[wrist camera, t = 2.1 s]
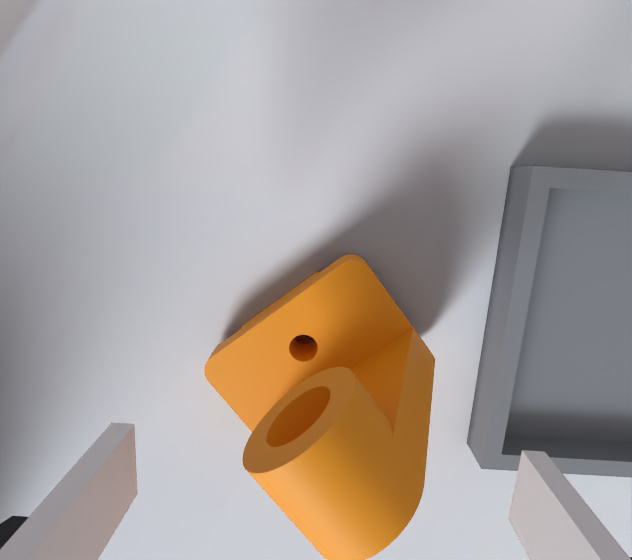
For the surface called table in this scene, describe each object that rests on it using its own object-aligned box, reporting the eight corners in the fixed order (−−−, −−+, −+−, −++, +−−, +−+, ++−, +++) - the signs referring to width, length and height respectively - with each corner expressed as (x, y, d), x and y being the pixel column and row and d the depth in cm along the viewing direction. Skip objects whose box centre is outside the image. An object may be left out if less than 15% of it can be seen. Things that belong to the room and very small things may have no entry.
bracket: (353, 244, 24) (385, 304, 13) (423, 340, 26) (510, 475, 14) (209, 348, 26) (118, 487, 14) (281, 434, 27) (253, 626, 15)
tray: (466, 442, 27) (481, 468, 25) (510, 167, 23) (533, 165, 21) (685, 455, 27) (721, 482, 25) (765, 183, 23) (817, 183, 21)
